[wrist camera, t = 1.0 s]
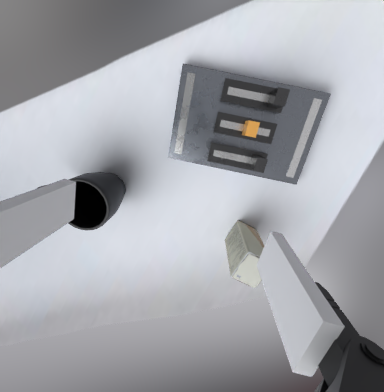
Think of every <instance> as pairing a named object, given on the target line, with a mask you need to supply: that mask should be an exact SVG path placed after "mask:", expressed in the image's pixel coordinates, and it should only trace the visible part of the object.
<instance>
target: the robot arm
mask: <svg viewBox="0 0 384 392" xmlns="http://www.w3.org/2000/svg"><path fill="white" fill-rule="evenodd" d="M75 191H76V182H75V181H71V180H67V179H63V180H60V181H57V182H55V183H52V184H49V185H46V186H43V187H40V188H37V189H35V190H32V191H29V192H26V193H23V194H20V195H18V196H15V197H12V198H9V199H6V200H3V201H1V202H0V268H2V267H3V266H5V265H6V264H8V263H9V262H11V261H12V260H14V259H15V258H17V257H18V256H19V255H21V254H22V253H24V252H25V251H27V250H28V249H30V248H31V247H33V246H34V245H36V244H37V243H39V242H40V241H42V240H43V239H45V238H46V237H48V236H49V235H51V234H52V233H54V232H55V231H57V230H58V229H60V228H61V227H63V226H64V225H66V224H67V223H69V222H70V221H72V220H73V219H74V209H75ZM257 268H258V271H259V274H260V277H261V280H262V283H263V286H264V289H265V292H266V295H267V298H268V301H269V304H270V307H271V309H272V312H273V315H274V318H275V321H276V324H277V327H278V330H279V333H280V336H281V339H282V342H283V345H284V348H285V351H286V354H287V357H288V359H289V363H290V365H291V368H292V371H293V372H294V373H298V374H302V375H306V376H310V377H312V376H313V374H314V373H315V371H316V370H317V368H318V367H319V368H320V370H321V373H322V375H323V377H324V379H323V380H322V382H321V383H320V384H319V386H318V387H317V389H316V390H315V391H314V392H384V350H383V349H382V348H380V347H379V346H378V345H377V344H375V343H374V342H372V341H370V340H368V339H367V338H364V337H361V336H359V334H358V333H357V331H356V330H355V328H354V327H353V326H352V324H351V323H350V321H349V320H348V319H347V317H346V316H345V315H344V313H343V312H342V310H340V308H339V306H338V305H337V303H336V302H334V299H333V298H332V297H331V295H330V294H329V292H328V291H327V290H326V289H324V288H323V287H322V286H321V285H320V284H319V283H317V282H314V281H313V279H312V278H311V276H310V275H309V273H308V272H307V270H306V269H305V267H304V266H303V264H302V263H301V261H300V260H299V258H298V257H297V256H296V254H295V253H294V251H293V250H292V248H291V247H290V245H289V244H288V242H287V241H286V239H285V238H284V236H283V235H282V234H280V233H276V232H272V231H270V234H269V236H268V238H267V241H266V243H265V246H264V248H263V251H262V253H261V255H260V258H259V260H258V263H257Z"/></svg>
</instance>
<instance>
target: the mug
mask: <svg viewBox="0 0 384 392" xmlns="http://www.w3.org/2000/svg"><path fill="white" fill-rule="evenodd" d="M69 180H71V181H75V182H76V191H75V209H74V219H73V220H72V221H70V222H69V224H70V225H72V226H73V227H75V228H78V229H81V230H94V229H97V228H99V227H101V226H103V225H104V224H105V223H106V222H107V221H108V220H109V219H110V218H111V217H112V216H113V215H114V214H115V213H116V211H117V210H118V208H119V206H120V204H121V202H122V200H123V196H124V194H125V185H124V183H123V181H122V179H121V178H120V177H118V176H117V175H115V174H112V173H101V172H96V173H87V174H83V175H80V176H77V177H74V178H72V179H69ZM44 186H46V185H44ZM41 187H43V186H41ZM38 188H40V187H38Z"/></svg>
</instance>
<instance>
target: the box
mask: <svg viewBox="0 0 384 392" xmlns="http://www.w3.org/2000/svg"><path fill="white" fill-rule="evenodd" d="M225 243H226V249H227V255H228V262H229V268H230V274H231V277H232V278H234V279H236V280H238V281H240V282H242V283H244V284H246V285H248V286H250V287H252V288H256V287H257V286H258V285H259V283H260V282H261V281H262V280H261V277H260V274H259V271H258V268H257V263H258V260H259V258H260V255H261V253H262V251H263V248H264V244H263V242H262V240H261V238H260V236H259V234H258V232H257V230H256V229H254V228H252V227H250V226H249V225H247V224H245V223H243V222H241V221H239V220H238V221H237V222H236V224H235V225H234V226H233V228H232V229H231V231H230V233H229V234H228V236H227V237H226V239H225Z"/></svg>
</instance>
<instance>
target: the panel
mask: <svg viewBox="0 0 384 392" xmlns="http://www.w3.org/2000/svg"><path fill="white" fill-rule="evenodd" d="M329 97H330V94H329V93H325V92H320V91H315V90H310V89H305V88H300V87H295V86H290V85H285V84H280V83H275V82H271V81H266V80H261V79H256V78H251V77H246V76H241V75H236V74H231V73H226V72H221V71H217V70H212V69H207V68H202V67H197V66H192V65H187V64H183V66H182V73H181V79H180V86H179V92H178V98H177V105H176V111H175V118H174V124H173V130H172V137H171V143H170V150H169V156H168V158H173V159H177V160H182V161H187V162H192V163H196V164H201V165H206V166H211V167H215V168H220V169H225V170H230V171H234V172H239V173H244V174H249V175H254V176H258V177H263V178H268V179H273V180H277V181H282V182H287V183H292V184H297V181H298V179H299V176H300V173H301V171H302V168H303V165H304V163H305V160H306V158H307V155H308V152H309V150H310V147H311V144H312V142H313V139H314V136H315V134H316V131H317V129H318V126H319V123H320V121H321V118H322V115H323V113H324V110H325V107H326V105H327V102H328V100H329ZM248 120H250V121H255V122H260V125H259V128H258V132H257V135H256V138H254V137H250V136H245V135H242V132H243V128H244V124H245V121H248Z"/></svg>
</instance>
